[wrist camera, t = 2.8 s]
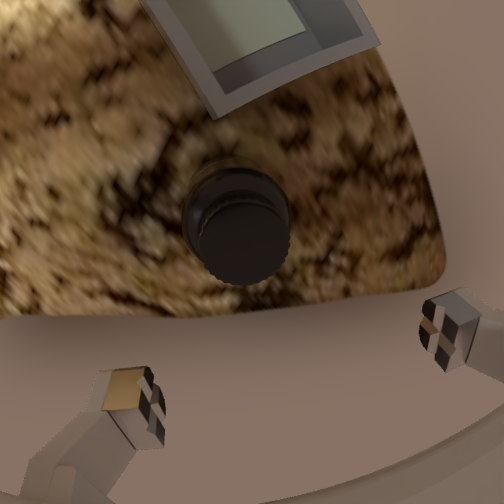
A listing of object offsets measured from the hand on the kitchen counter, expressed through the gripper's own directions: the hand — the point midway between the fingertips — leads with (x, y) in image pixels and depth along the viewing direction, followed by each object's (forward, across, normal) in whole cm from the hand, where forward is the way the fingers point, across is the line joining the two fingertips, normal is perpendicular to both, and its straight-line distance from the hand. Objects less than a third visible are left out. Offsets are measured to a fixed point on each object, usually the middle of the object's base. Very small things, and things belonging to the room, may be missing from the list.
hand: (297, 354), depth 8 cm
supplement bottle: (+21, 0, 0) cm, 21 cm away
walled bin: (+20, -2, -16) cm, 26 cm away
